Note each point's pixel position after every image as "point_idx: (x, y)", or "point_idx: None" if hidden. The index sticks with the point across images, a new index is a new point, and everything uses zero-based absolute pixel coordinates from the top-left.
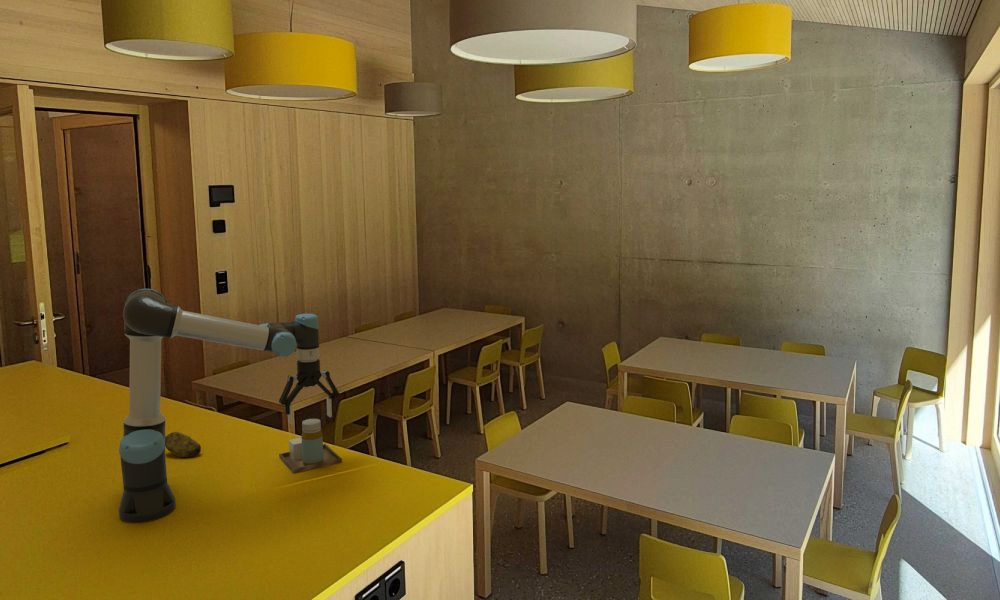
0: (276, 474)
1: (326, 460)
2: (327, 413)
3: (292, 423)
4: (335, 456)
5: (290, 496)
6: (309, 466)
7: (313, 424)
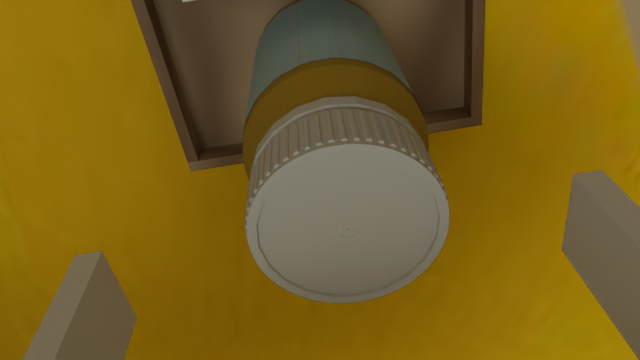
0: (101, 110)
1: (403, 55)
2: (585, 205)
3: (130, 324)
4: (468, 47)
5: (181, 326)
6: None
7: (351, 302)
